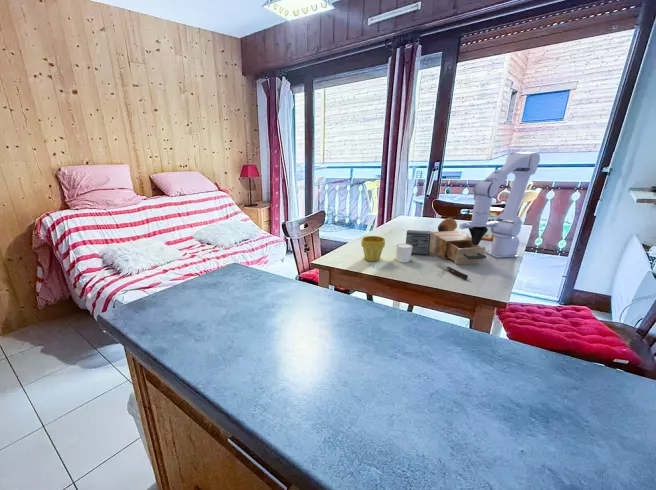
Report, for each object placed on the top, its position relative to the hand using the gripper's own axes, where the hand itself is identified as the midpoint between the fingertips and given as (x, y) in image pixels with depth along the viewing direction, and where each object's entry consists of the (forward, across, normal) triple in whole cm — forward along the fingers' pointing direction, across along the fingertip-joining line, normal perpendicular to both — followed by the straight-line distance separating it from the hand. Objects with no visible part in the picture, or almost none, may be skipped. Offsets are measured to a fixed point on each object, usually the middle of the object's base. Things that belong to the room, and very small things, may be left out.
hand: (475, 244), depth 135 cm
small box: (+10, +15, -20) cm, 26 cm away
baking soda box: (+10, -28, -35) cm, 46 cm away
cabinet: (+9, +1, -16) cm, 19 cm away
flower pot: (+9, +38, -15) cm, 42 cm away
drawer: (+8, +1, -4) cm, 10 cm away
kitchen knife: (+10, +12, +6) cm, 16 cm away
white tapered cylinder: (+10, +25, -11) cm, 29 cm away
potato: (+6, -14, -48) cm, 50 cm away
